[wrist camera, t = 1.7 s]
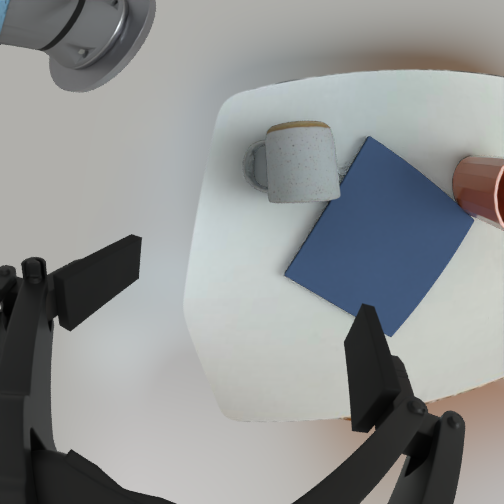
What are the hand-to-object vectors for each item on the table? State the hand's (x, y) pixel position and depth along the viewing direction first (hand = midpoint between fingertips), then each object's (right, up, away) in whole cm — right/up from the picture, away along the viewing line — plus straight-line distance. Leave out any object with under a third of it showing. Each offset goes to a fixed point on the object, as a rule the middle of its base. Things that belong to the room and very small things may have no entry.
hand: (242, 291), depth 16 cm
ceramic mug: (+5, +12, +17) cm, 22 cm away
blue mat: (+17, +3, +17) cm, 25 cm away
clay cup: (+30, +11, +12) cm, 34 cm away
